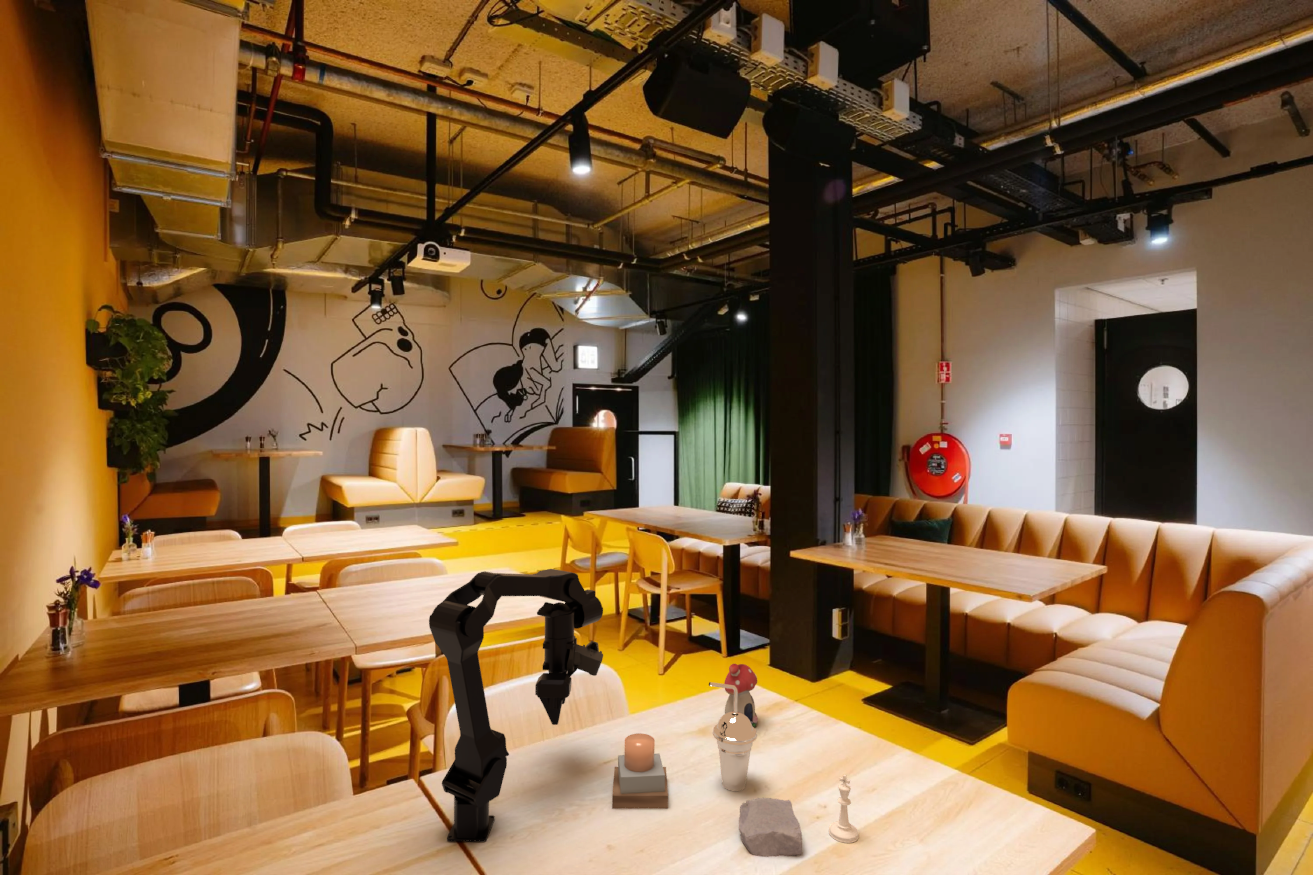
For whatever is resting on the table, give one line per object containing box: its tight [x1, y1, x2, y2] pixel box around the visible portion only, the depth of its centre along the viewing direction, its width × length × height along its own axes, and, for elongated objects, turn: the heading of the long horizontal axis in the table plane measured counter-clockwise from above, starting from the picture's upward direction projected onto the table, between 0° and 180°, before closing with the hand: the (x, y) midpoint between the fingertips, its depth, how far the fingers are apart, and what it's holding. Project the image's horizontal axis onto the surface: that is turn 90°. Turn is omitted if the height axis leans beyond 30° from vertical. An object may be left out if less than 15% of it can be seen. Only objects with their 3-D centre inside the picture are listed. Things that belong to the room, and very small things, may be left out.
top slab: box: [617, 753, 665, 794], centre depth 123 cm, size 8×8×3 cm
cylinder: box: [623, 733, 656, 772], centre depth 123 cm, size 6×6×4 cm
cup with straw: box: [708, 681, 758, 792], centre depth 126 cm, size 8×9×20 cm
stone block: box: [738, 797, 803, 858], centre depth 111 cm, size 12×5×10 cm
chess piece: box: [828, 774, 860, 844], centre depth 111 cm, size 5×5×10 cm
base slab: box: [611, 766, 669, 810], centre depth 123 cm, size 10×10×3 cm
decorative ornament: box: [723, 663, 759, 729], centre depth 151 cm, size 9×7×15 cm
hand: (558, 713), depth 129 cm, fingers open, 9 cm apart
